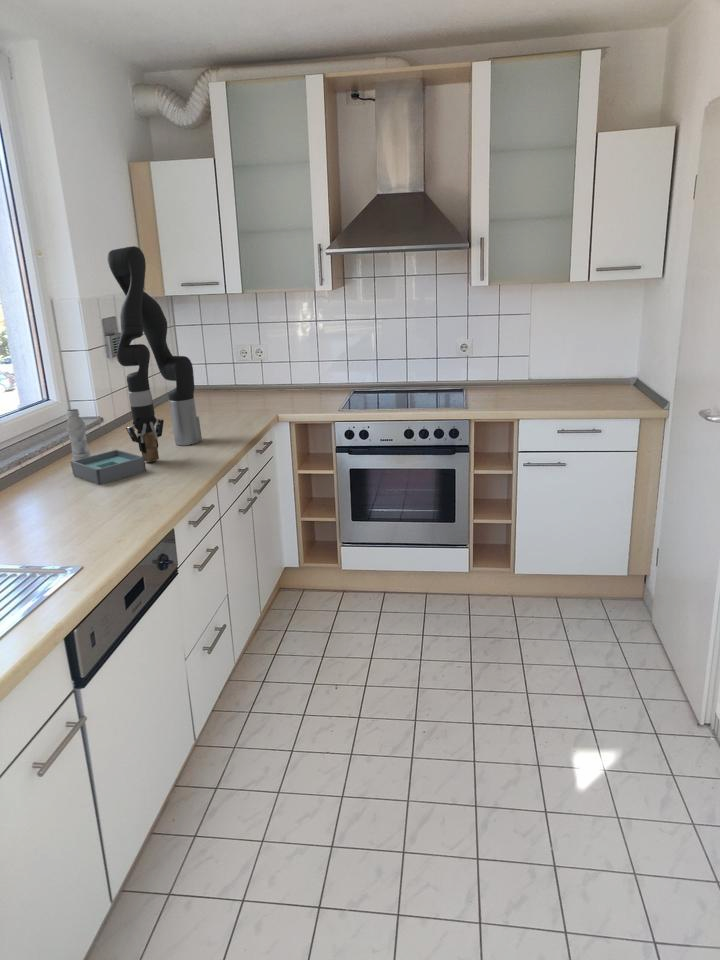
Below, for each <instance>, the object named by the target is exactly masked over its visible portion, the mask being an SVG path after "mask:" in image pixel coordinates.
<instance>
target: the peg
mask: <svg viewBox="0 0 720 960" xmlns="http://www.w3.org/2000/svg"><path fill="white" fill-rule="evenodd" d="M140 434H141V433H140ZM144 443H145V448H146V453H142V452H141V456H142V457H144V460H145V462H147V463H151V462H154V461H157V460H158V461H159V460H160V457H159V451H158V449H157V443H156V437H155V432H152V431H150V432H149V431H148V432H146V433H145V434H144Z"/></svg>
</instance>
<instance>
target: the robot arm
mask: <svg viewBox="0 0 720 960" xmlns="http://www.w3.org/2000/svg"><path fill="white" fill-rule="evenodd" d="M107 263H108V267H109V269H110V272H111V274H112V275H113V277H114V279H115V280H116V282H117V284H118V285H119V287H120V289H121V290H122V292H123V294H124V295H125V298H124V300H123V302H122V305H121V308H120V316H119V317H120V336H119V337H120V338H119V342H118V345H117V350H116V359H117V362H118V363H119V364H120V366H121V367H122V366H123V367H136V366H138V370H137V371H134V372H131V373H129V374H127V376H126V383H127V389H128V399H129V405H130V411H131V412H130V413H131V416H132V417H131V418H132V424H130V426H126V428H125V430H126V431H127V433H128V435H129V437H130V439H131V441H132V442H133V443H137V444H138V448H139V451H140V453H141V454H142V453H146V448H145V443H144V434H145V433H146V432H148V431H149V432H150V431H152V432H155V437H156V443H157V449H158V448H159V442H158V439H159V438H160V437H162V436H163V428H164V419H162V418H156V415H155V414H156V413H155V412H156V411H155V406H154V401H153V395H152V392H151V388H150V381H149V366H150V359H151V358H150V357H151V354H150V353H151V352H150V350H149V348H148V346H147V345H145V344H143V343H138V344H137V343H136V344H131V343H132V341H133V340H136V339H139V338H141V337H143V334H144V335H145V338H146V340H147V342H148V345H149V347H150V349H151V351H152V354H153V357H154V359H155V362H156V366H157V367H158V371H159V373H160V375H161V376H162V378H163V379H165V380H166V381H170V382H171V381H173V382H174V381H175V383H176V386H175V388H174V389H172V390H171V391H169V392H168V396H167V397H168V402H169V407H170V408H169V410H170V416H171V421H172V429H173V436H174V442H175V445H177V446H191V445H190V444H192V445H195V443H196V444H198V443H200V442H202V441H203V437H202V430H201V423H200V417H199V416H197V410H196V409H197V408H196V403H195V401H196V400H195V394H194V393H195V377H194V368H193V363H192V361H191V359H190V358H189V357H188V356H185V355H184V356H183V355H173V354H172V353H171V350H170V348H169V346H168V344H167V343H168V342H167V335H168V321H167V319H166V318H167V317H166V316H165V314H164V312H163V310H162V309H163V308H162V307H161V306H160V304H159V303H158V302H157V301H156V300H155V298H153V297H152V296H150V295H149V294H148V293H147V292H145V291H144V290H145V279H146V267H147V266H146V264H147V263H146V257H145V253H144V252H143V250H141V248H139V247H138V246H135V245H133V246H127V247H126V246H125V247H121V248H115V249H112V250H109V252H108V253H107ZM135 431H136V432H135ZM140 433H141V434H140ZM199 441H200V442H199Z"/></svg>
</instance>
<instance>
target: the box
mask: <svg viewBox="0 0 720 960" xmlns="http://www.w3.org/2000/svg"><path fill="white" fill-rule="evenodd" d="M70 465H71V469H72V476H73V475H74V476H73V477H76V478H78V477H79V479H81V480H84V481H87V482H90V483H92V482H93V484H95V483H96V484H95V485H98V484H99V485H98V486H101V485H103V483H104V484H108V483H111V482H113V481H114V480H115V481H117V479H118V480H121V479H120V478H122V479H125V478H128V477H131V476H130V475H132V476H134V474H135V475H139V474H142V473H145V472H144V471H146V472H147V467H146V461H145V460H144V457H142V455H139V454H138V455H137V454H135V453H131V452H127V451H125V450H124V451H123V450H120V449H114V450H111V451H110V450H109V451H106V452H102V453H99V454H94V455H91V456H90V457H86V458H82V459H79V460H75V461H72V460H71V461H70ZM141 472H142V473H141ZM138 473H139V474H138ZM127 476H128V477H127ZM124 477H125V478H124ZM110 481H111V482H110ZM115 481H114V482H115ZM107 482H108V483H107ZM100 484H101V485H100Z"/></svg>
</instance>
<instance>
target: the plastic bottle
mask: <svg viewBox="0 0 720 960" xmlns="http://www.w3.org/2000/svg"><path fill="white" fill-rule="evenodd" d="M79 412H80V411H79V409H78V408H72V409H68V410H67V417H68V419H67V420H66V424H65V429H66V431H67V435H68V436H69V441H70V446H71V461H75V460H79V459H82V458H86V457H90V456H92V454H91V451H90V448H89V446H88V445H89V444H88V441H87V440H88V439H87V432H86V430H87V429H86V422H85V421H84V419H83V418H82V417H80V413H79Z"/></svg>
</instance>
